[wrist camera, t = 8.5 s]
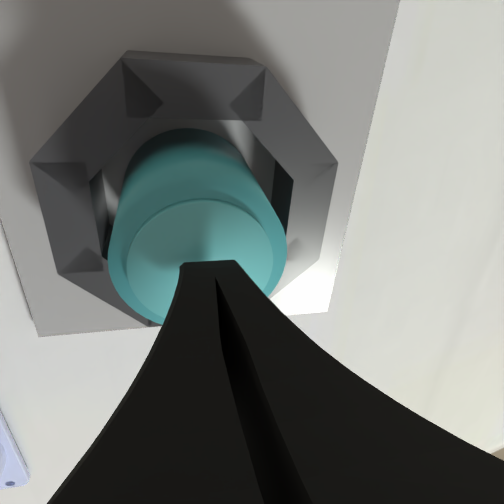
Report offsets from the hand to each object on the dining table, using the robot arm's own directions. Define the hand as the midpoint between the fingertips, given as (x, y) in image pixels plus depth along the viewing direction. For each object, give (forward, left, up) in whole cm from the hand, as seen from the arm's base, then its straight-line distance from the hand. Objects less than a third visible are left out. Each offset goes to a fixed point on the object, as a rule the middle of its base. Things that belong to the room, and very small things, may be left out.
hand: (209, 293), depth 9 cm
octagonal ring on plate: (0, 0, -7) cm, 7 cm away
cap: (0, 0, -6) cm, 6 cm away
